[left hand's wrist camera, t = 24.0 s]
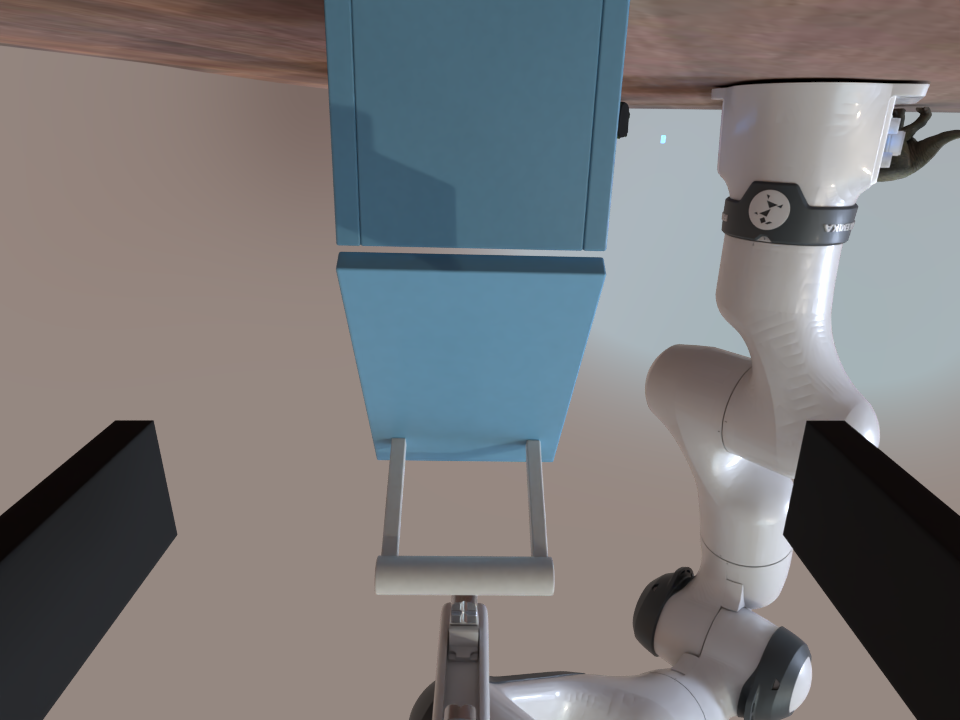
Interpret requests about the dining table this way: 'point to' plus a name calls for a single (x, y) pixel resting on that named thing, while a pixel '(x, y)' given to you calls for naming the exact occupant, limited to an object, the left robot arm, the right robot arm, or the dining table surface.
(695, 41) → the dining table surface
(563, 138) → the chest
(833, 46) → the dining table surface
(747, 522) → the right robot arm
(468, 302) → the lid
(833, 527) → the left robot arm
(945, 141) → the toy dinosaur
